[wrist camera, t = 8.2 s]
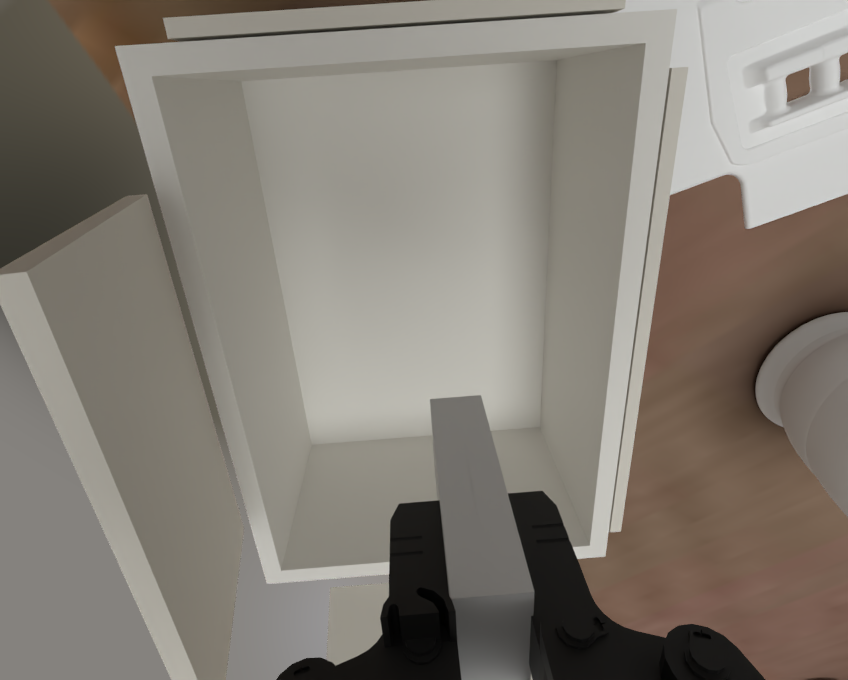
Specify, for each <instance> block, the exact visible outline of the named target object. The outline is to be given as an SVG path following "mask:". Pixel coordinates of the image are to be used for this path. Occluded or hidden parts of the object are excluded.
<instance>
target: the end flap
mask: <svg viewBox="0 0 848 680" xmlns="http://www.w3.org/2000/svg"><path fill="white" fill-rule="evenodd" d="M388 597H389V583H381V584H369V585H357V586H346V587H333V588H330V602H329V622H328V643H327V660H328V661H330V662H333V663H334V664H335V666H336V665H338V664H340V663H343V662H345V661H347V660H350V659H352V658H354V657H357V656H359V655H360V654H362V653H364V652H366V651H367V650H369V649H370V648H371V647H372V646H373V645H374V644H375V643H376V642H377V641H378V640H379V638H380V637H381V635H382V627H381V620H380V616H381V612H382V608H383V604H384V603H385V601H386V600H387V598H388ZM530 680H533V679H532V675H531V679H530Z"/></svg>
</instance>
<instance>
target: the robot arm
mask: <svg viewBox="0 0 848 680" xmlns="http://www.w3.org/2000/svg"><path fill="white" fill-rule="evenodd" d="M430 409H431V423H432V438H433V453H434V467H435V479H436V490H437V501H424V502H412V503H400V504H398V506H397V508H396V510H395V512H394V514H393V516H392V518H391V520H390V560H389V597H388V598H387V600H386V601H385V603H384V604H383V608H382V612H381V616H380V620H381V627H382V635H381V637H380V638H379V640H378V641H377V642H376V643H375V644H374V645H373V646H372V647H371V648H370V649H369V650H367V651H366V652H364V653H362V654H360V655H359V656H357V657H354V658H352V659H350V660H347V661H345V662H343V663H340V664H338V665H336V666H335V664H334V663H333V662H330V661H328V660H325V659H323V658H306V659H303V660H301V661H299V662H296V663H294V664H292V665H291V666H289V667H288V668H287V669H286V670H285V671H284V672H282V673H281V674H280V675H279V677H278V678H277V680H530V679H531V675H532V679H533V680H765V679H764V678H763V676H762V675H761V674H760V673H759V672H758V671H757V670H756V668H755V667H754V666H753V665H752V664H751V663H750V662H749V660H748V659H747V658H746V657H745V656H744V655H743V654H742V652H741V651H740V650H739V649H738V648H737V647H736V646H735V645H734V644H733V643H731V642H730V641H729V640H728V639H727V638H726V637H725V636H723V635H721V634H719V633H718V632H716V631H714V630H712V629H710V628H708V627H703V626H699V625H694V624H688V625H680V626H677V627H676V628H674V629H673V630H671V631H670V632H668V635H667V637H666V638H664V637H660V636H655V635H651V634H646V633H642V632H638V631H634V630H631V629H628V628H625V627H623V626H621V625H619V624H617V623H615V622H614V621H612V620H611V619H610V618H608V617H607V616H606V615H605V614H604V613H603V612H602V611H601V610H600V609H599V608H598V606H597V605H596V604H595V602H594V600H593V598H592V596H591V594H590V591H589V589H588V586H587V583H586V581H585V578H584V576H583V573H582V570H581V568H580V565H579V563H578V560H577V557H576V555H575V552H574V549H573V547H572V544H571V542H570V541H569V536H568V534H567V531H566V529H565V527H564V525H563V521H562V518H561V515H560V513H559V510H558V508H557V505H556V504H555V503H554V502H553V501H552V500H551V499H550V498H549V497H548V496H547V495H546V494H545V493H544V492H543V491H532V492H520V493H507V489H506V485H505V482H504V478H503V474H502V471H501V467H500V463H499V460H498V456H497V452H496V449H495V445H494V441H493V438H492V434H491V430H490V427H489V423H488V419H487V416H486V412H485V408H484V405H483V401H482V397H481V395H475V396H463V397H450V398H437V399H430Z"/></svg>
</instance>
